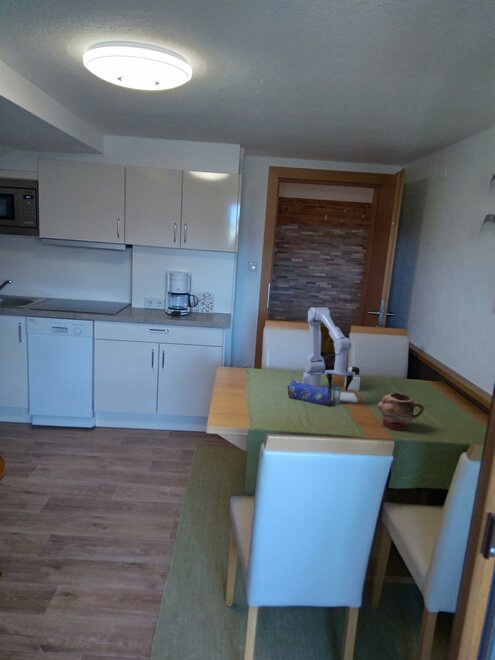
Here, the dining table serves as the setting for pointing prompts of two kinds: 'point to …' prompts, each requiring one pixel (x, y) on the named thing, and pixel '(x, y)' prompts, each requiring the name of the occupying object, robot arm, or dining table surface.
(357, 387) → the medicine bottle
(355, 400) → the note pad
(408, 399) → the brown sculpted mug
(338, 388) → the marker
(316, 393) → the pencil case
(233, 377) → the dining table surface
